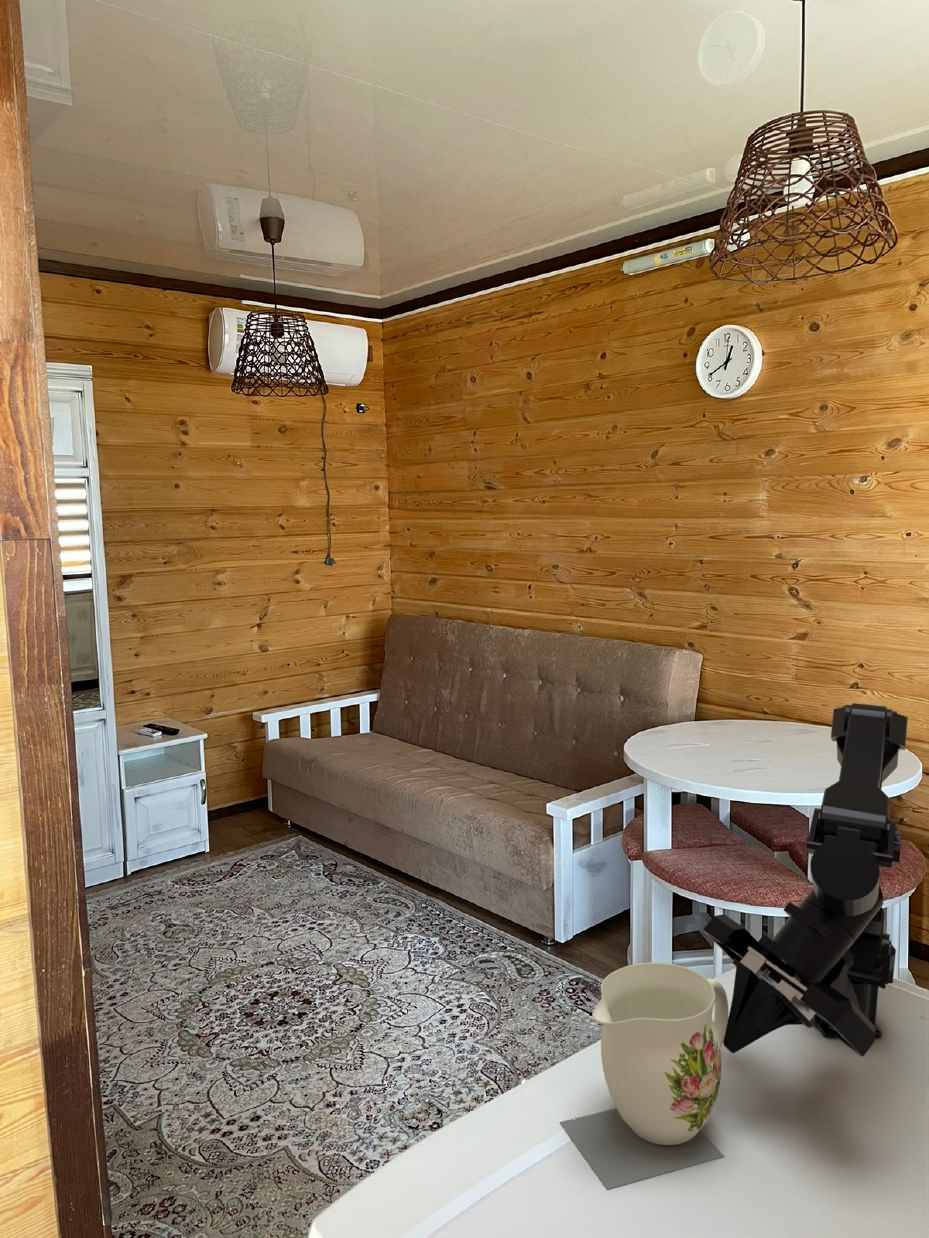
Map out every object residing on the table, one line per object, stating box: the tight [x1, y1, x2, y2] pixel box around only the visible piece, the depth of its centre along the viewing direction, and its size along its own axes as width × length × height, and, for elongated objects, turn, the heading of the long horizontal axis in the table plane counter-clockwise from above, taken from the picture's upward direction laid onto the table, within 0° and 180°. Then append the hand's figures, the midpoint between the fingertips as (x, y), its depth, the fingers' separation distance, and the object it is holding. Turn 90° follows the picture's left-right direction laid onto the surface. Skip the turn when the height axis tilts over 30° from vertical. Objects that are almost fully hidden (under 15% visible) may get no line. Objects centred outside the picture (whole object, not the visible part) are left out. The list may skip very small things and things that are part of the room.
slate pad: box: [559, 1107, 725, 1191], centre depth 85 cm, size 12×9×1 cm
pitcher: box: [592, 961, 730, 1145], centre depth 86 cm, size 11×18×14 cm, turn 129°
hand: (727, 1049), depth 87 cm, fingers closed
